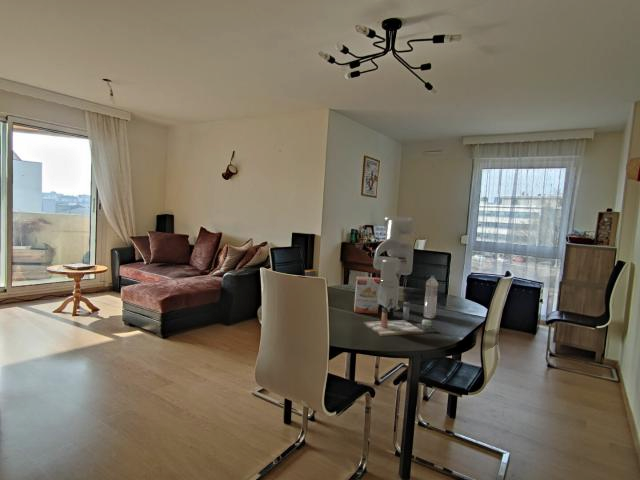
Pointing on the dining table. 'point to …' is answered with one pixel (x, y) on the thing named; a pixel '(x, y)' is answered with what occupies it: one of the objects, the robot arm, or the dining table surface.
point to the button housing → (426, 328)
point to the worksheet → (394, 328)
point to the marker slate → (406, 311)
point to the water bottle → (430, 298)
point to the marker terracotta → (384, 317)
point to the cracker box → (366, 295)
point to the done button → (426, 323)
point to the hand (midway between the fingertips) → (385, 316)
